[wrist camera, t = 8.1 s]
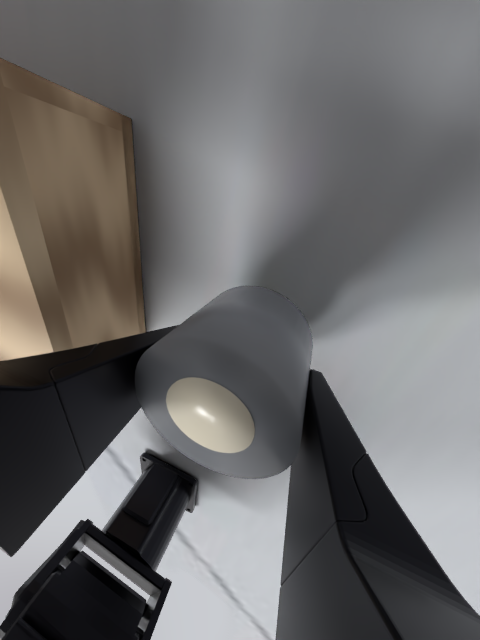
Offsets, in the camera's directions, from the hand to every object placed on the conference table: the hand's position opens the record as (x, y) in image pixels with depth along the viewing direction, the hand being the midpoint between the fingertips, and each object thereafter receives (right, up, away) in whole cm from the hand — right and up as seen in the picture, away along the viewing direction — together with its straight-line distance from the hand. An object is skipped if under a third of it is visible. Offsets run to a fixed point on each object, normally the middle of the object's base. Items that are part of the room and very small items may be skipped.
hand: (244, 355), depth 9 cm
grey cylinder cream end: (0, 0, +1) cm, 1 cm away
